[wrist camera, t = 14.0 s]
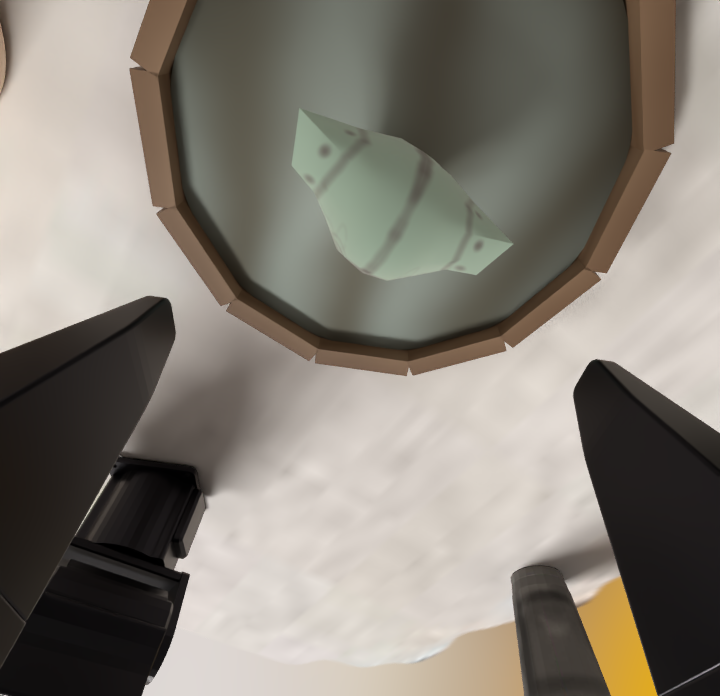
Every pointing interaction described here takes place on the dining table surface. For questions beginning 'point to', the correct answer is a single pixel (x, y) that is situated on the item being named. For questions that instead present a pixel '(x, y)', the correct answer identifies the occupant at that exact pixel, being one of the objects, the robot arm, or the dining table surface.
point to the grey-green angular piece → (391, 203)
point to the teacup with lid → (2, 59)
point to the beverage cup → (552, 637)
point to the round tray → (424, 131)
